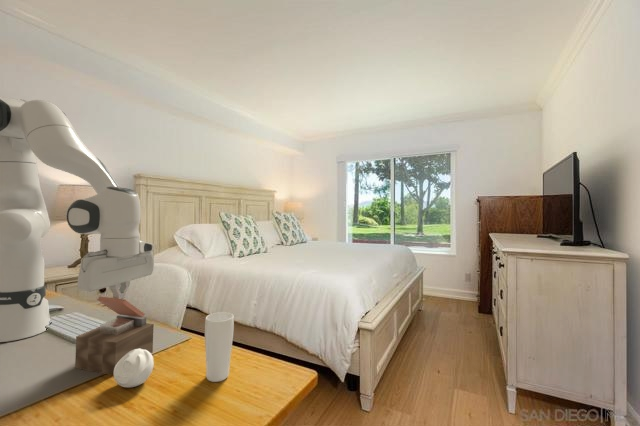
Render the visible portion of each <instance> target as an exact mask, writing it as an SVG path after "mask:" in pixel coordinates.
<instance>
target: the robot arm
mask: <svg viewBox="0 0 640 426" xmlns="http://www.w3.org/2000/svg"><path fill="white" fill-rule="evenodd" d="M37 159H38V160H39V162H41V163H42V164H45V165H46V166H49V167H50V168H53V169H56V170H60V171H61V172H65V173H68V174H71V175H74V176H76V177H78V178H80V179H82V180H84V181H85V182H87V183H88V184H89V185H90V186H91V187H92V189H94V191H95V193H96V194H95V195H93V196H89V197H85V198H83V199H77V200H75V201H73V202H72V203H71V204H70V206H69V207H68V209H67V212H66V222H67V225H68V226H69V228H70V229H71V230H72V231H74V232H75V233H77V234H81V235H82V234H83V235H96V234H97V235H98V234H99V235H100V238H99V250H97V251H89V252H87V253H86V254H85V255H84V256H83V257H82V258H81V260H80V267H79V271H78V276H77V288H78V289H79V291H80V292H87V293H88V292H90V293H91V292H95V291H98V290H102V289H106V288H109V290H110V292H111V293H112V298H116V299H125V298H126V294H127V291H128V289H129V287H130V284H131V281H135V280H138V279H141V278H146V277H149V276H151V275H152V274H153V272H154V269H155V255H154V253H153V252H154V250H155V244H154V243H151V242H147V241H144V240H141V233H140V224H141V218H142V216H141V215H142V211H141V210H142V207H141V201H140V196H139V194H138V192H137V191H135V190H133V189H132V188H131V189H130V188H126V187H121V186H120V185H119V183H118V182H117V181H116V179H115V178H114V176H113V175H112V173H111V172H110V171H109V169H108V168H107V166H106V165H105V164H104V163H103V162H102V161H101V160H100V159H99V158H98V157H97V156H96V155H95V154H94V153H93V152H92V151H91V150H90V149H89V148H88V147H87V146H86V144H85V143H84V142H83V140H82V139H81V137H80V136H79V135H78V133H77V131H76V129H75V127H74V125H73V124H72V122H71V121H70V120H69V118H68V117H67V115H66V113H65V112H63V111H62V109H60V108H59V107H58V106H57V105H56V104H54V103H53V102H50V101H48V100H45V99H44V100H43V99H33V100H26V99H18V98H17V99H16V98H11V97H5V96H0V343H5V342H13V341H17V340H23V339H26V338H30V337H35V336H37V335H39V334H41V333H44V332H45V331H47V330H46V328H45V326H46V325H48V324H49V321H50V320H51V319H52V318H50V308H49V300H48V299H47V298H45V296H46V295H47V285H46V284H45V267H46V265H45V262H46V261H45V258H44V254H43V247H42V238H43V237H45V236H46V235H47V234H48V232H49V231H50V229H51V220H50V216H49V212H48V209H47V205H46V202H45V199H44V195H43V192H42V189H41V183H40V182H41V181H40V176H39V170H38V163H37Z"/></svg>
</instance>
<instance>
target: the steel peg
mask: <svg viewBox="0 0 640 426" xmlns="http://www.w3.org/2000/svg"><path fill="white" fill-rule="evenodd" d="M133 324H134V320H130V319H122V318H117V317H116V318H114V319H112V320H109V321H107V322H104V323H101V324H100V325H99V327H100V333H106V334H113V335H118V334H120V333H122V332H124V331H126V330H129V329H131V328H133Z"/></svg>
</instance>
